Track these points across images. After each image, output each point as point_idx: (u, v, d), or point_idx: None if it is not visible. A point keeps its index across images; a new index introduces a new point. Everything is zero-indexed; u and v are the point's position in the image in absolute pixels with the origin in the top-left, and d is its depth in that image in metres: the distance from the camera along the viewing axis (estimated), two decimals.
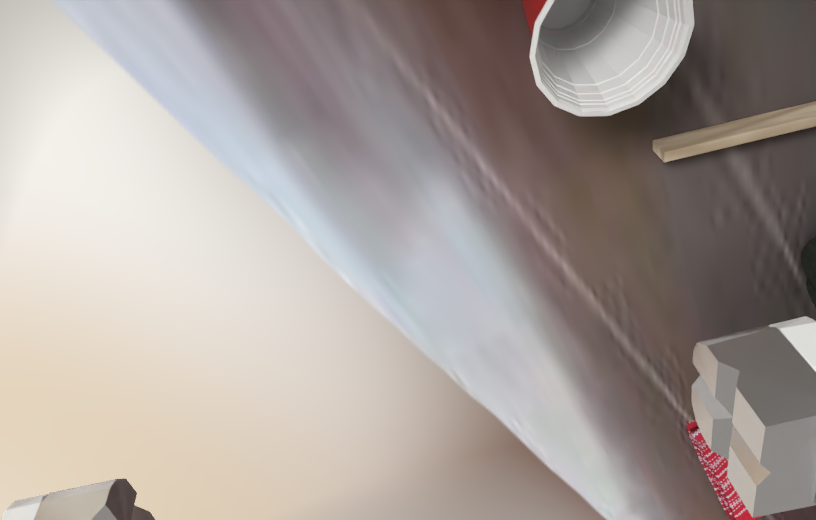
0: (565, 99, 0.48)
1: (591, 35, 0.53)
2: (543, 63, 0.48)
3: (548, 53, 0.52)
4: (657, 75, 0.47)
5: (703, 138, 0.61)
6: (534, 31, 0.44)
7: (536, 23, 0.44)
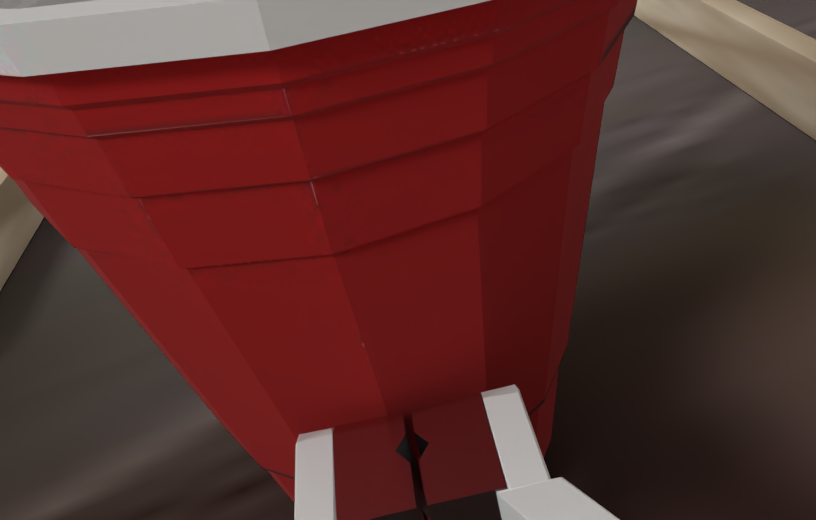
0: None
1: None
2: None
3: None
4: None
5: (786, 68, 0.24)
6: (49, 22, 0.05)
7: None
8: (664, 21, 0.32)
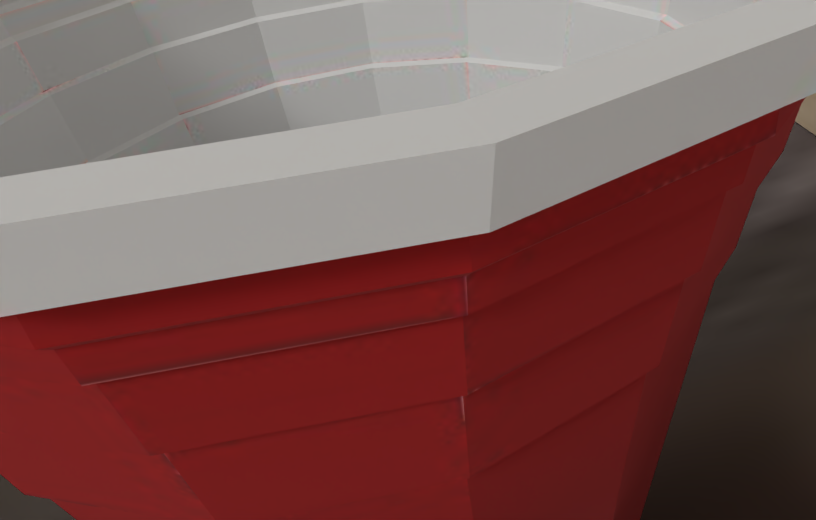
0: None
1: None
2: None
3: None
4: None
5: None
6: (24, 221, 0.02)
7: None
8: None
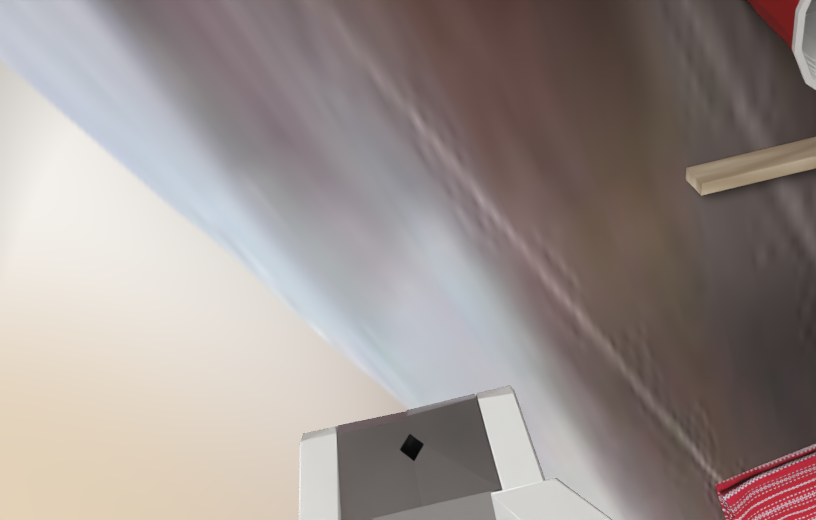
0: None
1: None
2: None
3: None
4: None
5: (749, 166, 0.50)
6: (798, 21, 0.34)
7: (800, 11, 0.34)
8: None
